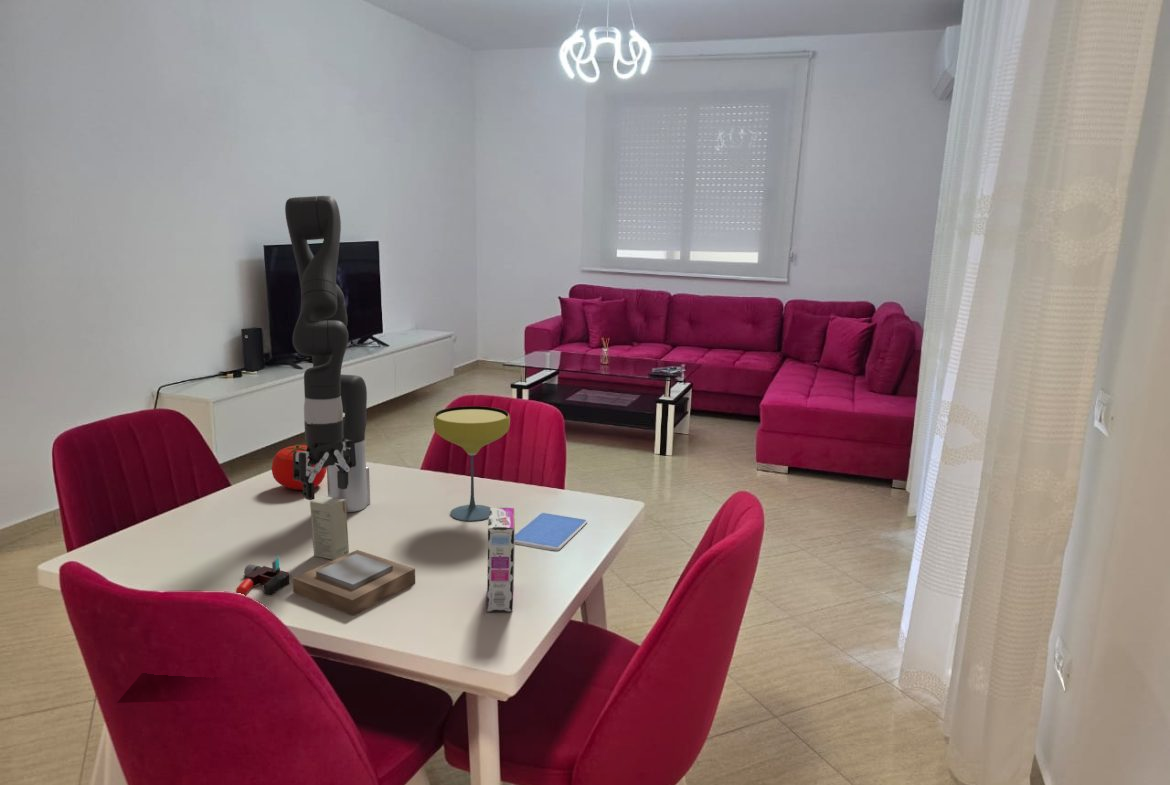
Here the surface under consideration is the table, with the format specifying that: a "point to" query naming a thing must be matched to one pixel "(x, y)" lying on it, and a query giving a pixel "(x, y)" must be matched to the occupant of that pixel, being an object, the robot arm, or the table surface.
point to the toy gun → (264, 578)
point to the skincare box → (329, 527)
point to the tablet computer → (549, 531)
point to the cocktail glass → (471, 442)
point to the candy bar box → (500, 560)
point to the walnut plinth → (354, 581)
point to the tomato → (291, 468)
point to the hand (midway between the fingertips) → (326, 493)
